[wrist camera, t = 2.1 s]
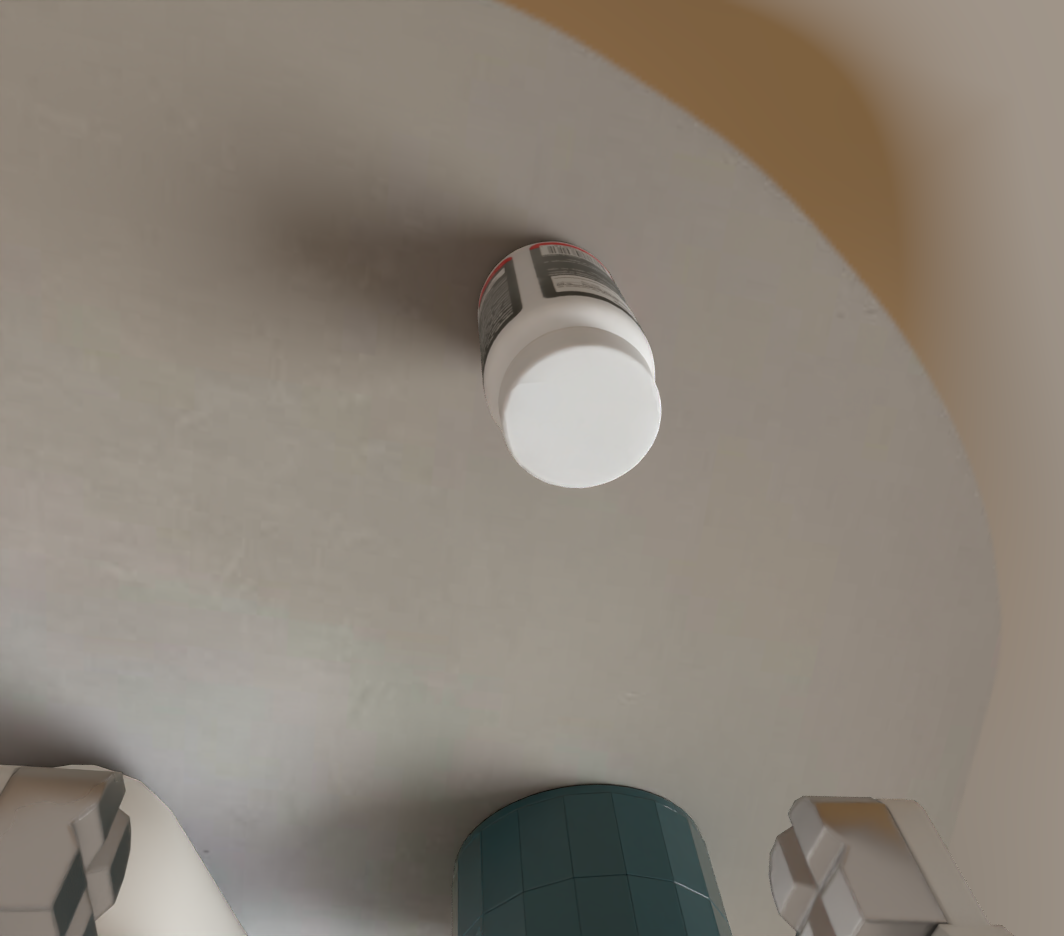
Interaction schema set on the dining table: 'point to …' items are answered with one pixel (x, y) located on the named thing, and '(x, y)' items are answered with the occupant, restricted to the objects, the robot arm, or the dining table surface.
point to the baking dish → (163, 877)
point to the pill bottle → (566, 367)
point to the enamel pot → (587, 869)
